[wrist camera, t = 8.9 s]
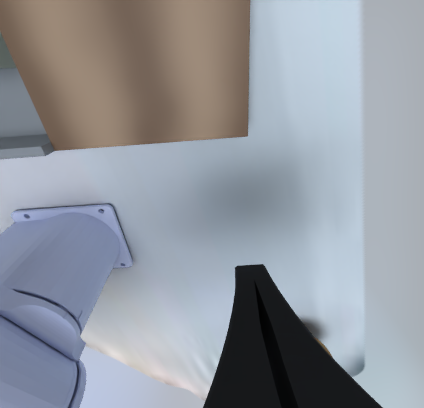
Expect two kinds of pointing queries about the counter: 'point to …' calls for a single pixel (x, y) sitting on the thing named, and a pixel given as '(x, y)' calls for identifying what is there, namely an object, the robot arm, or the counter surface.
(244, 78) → the plate
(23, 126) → the box
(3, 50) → the tile
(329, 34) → the counter surface
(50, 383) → the robot arm
